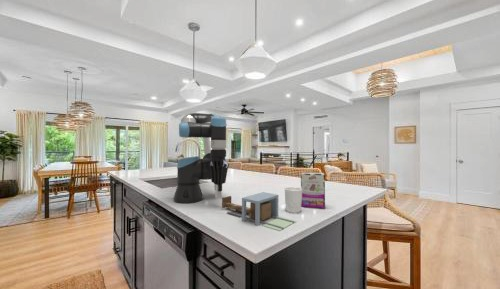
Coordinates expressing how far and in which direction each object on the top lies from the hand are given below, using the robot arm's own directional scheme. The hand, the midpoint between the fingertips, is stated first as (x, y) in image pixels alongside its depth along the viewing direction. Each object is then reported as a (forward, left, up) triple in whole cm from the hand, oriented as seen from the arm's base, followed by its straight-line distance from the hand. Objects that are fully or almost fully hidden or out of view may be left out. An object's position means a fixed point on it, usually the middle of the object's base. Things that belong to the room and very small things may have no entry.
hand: (218, 197), depth 105 cm
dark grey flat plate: (+15, 0, -4) cm, 15 cm away
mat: (+35, 0, -4) cm, 35 cm away
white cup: (+31, +18, -5) cm, 36 cm away
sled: (+17, 0, -4) cm, 17 cm away
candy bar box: (+35, +30, -5) cm, 46 cm away
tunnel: (+26, 0, -4) cm, 26 cm away
